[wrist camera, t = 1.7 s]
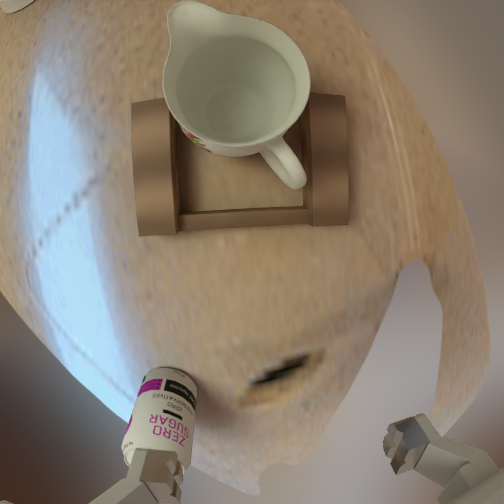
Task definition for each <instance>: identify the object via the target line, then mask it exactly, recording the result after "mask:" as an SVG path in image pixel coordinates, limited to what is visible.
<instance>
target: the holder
mask: <svg viewBox="0 0 504 504" xmlns="http://www.w3.org/2000/svg"><path fill="white" fill-rule="evenodd" d="M300 120H301V141H302V167H303V169H304V171H305V174H306V178H307V181H306V184H305V185H304V186H303V206H297V207H270V208H249V209H230V210H213V211H198V212H184V213H181V208H180V195H179V179H178V160H177V136H176V119H175V118H174V116H173V115H172V113H171V111H170V110H169V108H168V105H167V103H166V100H165V98H161V99H154V100H148V101H141V102H135V103H132V105H131V121H132V158H133V176H134V190H135V202H136V213H137V222H138V231H139V236H153V235H166V234H176V233H177V232H178V231H184V230H199V229H215V228H232V227H250V226H269V225H290V224H310V225H312V226H331V225H348V207H349V178H348V141H347V122H346V107H345V96H341V95H331V94H318V93H310V94H309V98H308V101H307V104H306V106H305V108H304V110H303V112H302V114H301V115H300Z"/></svg>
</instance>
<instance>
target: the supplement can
mask: <svg viewBox="0 0 504 504" xmlns="http://www.w3.org/2000/svg"><path fill="white" fill-rule="evenodd" d="M196 401H197V387H196V386H195V384H194V382H193V380H191V379H190V378H189V377H188V376H187V375H186V374H184V373H182V372H180V371H178V370H174V369H170V368H157V369H154V370H151V371H149V372H148V373H147V374H146V375H145V376H144V379H143V382H142V385H141V388H140V390H139V393H138V396H137V399H136V402H135V405H134V408H133V411H132V414H131V418H130V421H129V424H128V427H127V430H126V433H125V437H124V440H123V443H122V447H121V448H122V451H123V454H124V460H125V462H126V464H127V465H128V466H129V467H130V464H131V460H132V457H133V454H134V451H135V449H136V448H145V449H155V450H166V451H176V453H177V455H178V458H177V460H178V461H179V462H181V465H182V468H183V474H184V472H185V470H186V469H187V468H188V467H189V465H190V464H191V455H192V443H193V432H194V421H195V411H196Z"/></svg>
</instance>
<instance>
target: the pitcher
mask: <svg viewBox="0 0 504 504" xmlns="http://www.w3.org/2000/svg"><path fill="white" fill-rule="evenodd" d="M167 27H168V32H169V37H170V49H169V53H168V56H167V59H166V63H165V66H164V71H163V92H164V97H165V100H166V103H167V105H168V108H169V110H170V111H171V113H172V115H173V116H174V118H175V119H176V120H177V122H178V124H179V126H180V127H181V129H182V131H183V132H184V133H185V135H186V136H187V137H188V138H189V139H190V140H191V141H192V142H193V143H195V144H196V145H198V146H199V147H200V148H202V149H204V150H206V151H208V152H211V153H213V154H216V155H221V156H227V157H242V156H248V155H252V154H256V153H258V152H260V154H261V155H262V156H263V158H264V159H265V160H266V162H267V163H268V164H269V166H270V167H271V168H272V169H273V171H274V172H275V173H276V174H277V175H278V176H279V178H280V179H281V180H282V181H283V182H284V183H285V184H286V185H287V186H288V187H290V188H291V189H294V190H298V189H300V188H302V187H303V186H304V185H305V184H306V181H307V178H306V174H305V171H304V169H303V167H302V165H301V163H300V161H299V160H298V158H297V157H296V155H295V154H294V153H293V151H292V150H291V149H290V147H289V146H288V145H287V144H286V142H285V141H284V139H283V137H282V136H283V135H284V134H285V132H286V131H287V130H288V129H289V128H290V127H291V126H292V125H293V124H294V123H295V122H296V120H297V119H298V118H299V117H300V115H301V114H302V112H303V110H304V108H305V106H306V104H307V101H308V98H309V94H310V87H311V79H310V71H309V67H308V64H307V61H306V59H305V57H304V55H303V53H302V51H301V50H300V48H299V47H298V46H297V44H296V43H295V42H294V41H293V40H292V39H291V38H290V37H289V36H288V35H287V34H286V33H284V32H283V31H282V30H280V29H279V28H277V27H275V26H273V25H271V24H270V23H267V22H265V21H262V20H259V19H255V18H252V17H246V16H239V15H232V14H228V13H224V12H221V11H219V10H217V9H215V8H213V7H211V6H209V5H206V4H203V3H201V2H197V1H192V0H185V1H181V2H178V3H176V4H175V5H173V6H172V7H171V8H170V10H169V11H168V14H167Z"/></svg>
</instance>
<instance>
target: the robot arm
mask: <svg viewBox="0 0 504 504" xmlns="http://www.w3.org/2000/svg"><path fill="white" fill-rule="evenodd" d="M33 1H34V0H0V8H1V9H2V11H3V12H4V13H13V12H16V11H18V10H20V9H22V8H24V7H25V6H27V5H29V4H30V3H31V2H33ZM387 430H388V432H389V433H388V434H387V435H386V436H385V437H384V440H383V448H384V452H385V454H386V456H387V457H389V458H391V459H392V460H391V463H390V464H391V466H392V468H393V470H394V472H395V474H396V475H398V474H401V473H404V472H406V471H409V470H412V469H414V470H415V471H417V472H419V473H420V474H422V475H423V476H425V477H427V478H428V479H430V480H432V481H433V482H435V483H437V484H439V485H440V486H442V487H444V490H443V491H442V492H441V493H440V494H439V496H438V498H437V499H438V502H439V503H440V504H504V467H503V468H502V469H500V470H499V469H498V468H497V466H496V465H495V464H494V462H493V461H492V460H491V458H490V457H489V456H488V454H487V453H486V452H484V451H482V450H479V449H476V448H473V447H471V446H468V445H465V444H463V443H460V442H457V441H455V440H452V439H449V438H447V437H441V436H440V434H439V433H438V432H437V430H436V429H435V428H434V426H433V425H432V423H431V422H430V421H429V419H428V418H427V417H426V415H425V414H423V413H422V414H419V415H416V416H413V417H409V418H406V419H403V420H401V421H398V422H395V423H392V424H390V425H389V426H388V429H387ZM177 458H178V455H177V453H176V451H166V450H155V449H145V448H136V449H135V451H134V454H133V457H132V460H131V464H130V467H129V471H128V474H127V478H126V479H121V480H120V481H119V482H118V483H116V484H115V485H114V486H112V487H111V488H110V489H108V490H107V491H106V492H104V493H103V494H102V495H100V496H99V497H97V498H96V499H95V500H93V501H92V502H90V503H89V504H159V503H165V504H180V499H181V490H180V488H179V485H181V484H182V482H183V468H182V465H181V462H179V461H178V460H177ZM0 504H12V503H11V502H8V501H0Z"/></svg>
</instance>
